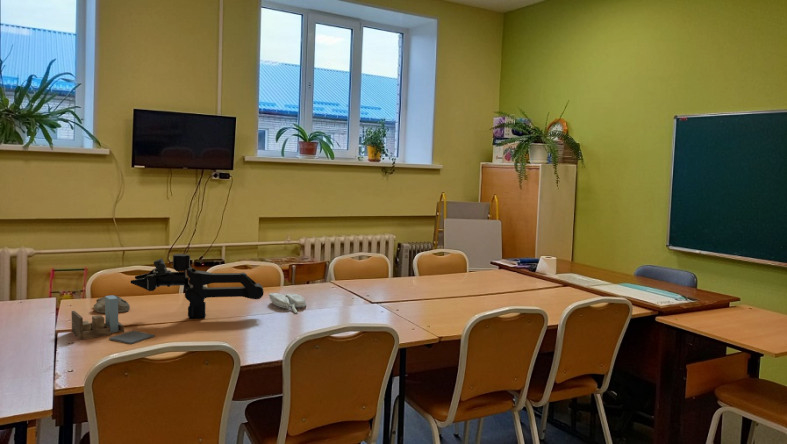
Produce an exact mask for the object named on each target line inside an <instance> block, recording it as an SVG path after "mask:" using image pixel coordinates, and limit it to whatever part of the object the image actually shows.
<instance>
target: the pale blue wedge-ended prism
mask: <svg viewBox="0 0 787 444" xmlns="http://www.w3.org/2000/svg"><path fill="white" fill-rule="evenodd" d="M115 296H116V295H113V294H112V295H105V296H104V297H105V313H104V323H105V324H106V325H108V326H109V327H110V332H111V333H117V332H119V330H118V322H119V312H118V298H117V297H115Z"/></svg>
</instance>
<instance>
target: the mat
mask: <svg viewBox="0 0 787 444" xmlns="http://www.w3.org/2000/svg"><path fill="white" fill-rule="evenodd" d="M154 337H156V334H153V333H148V332H143V331H138V330H130V331H128V332H123V333H121V334H118V335H114V336H110V337H109V338H108V339H109V341H114V342H120V343H124V344H130V345H133V344H136V343H140V342H143V341H145V339H146V340H148V338H149V339H151V338H154ZM142 340H143V341H142Z"/></svg>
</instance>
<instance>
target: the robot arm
mask: <svg viewBox="0 0 787 444" xmlns="http://www.w3.org/2000/svg"><path fill="white" fill-rule="evenodd" d="M190 260H191V254H185V253H174V254H172V268H173V269H174V270H175V271H172V270H169V269H167V265H166V263H165V261H164V259H163V258H159V259H156V260H154V261H153V266H155V267H154V268H153V269H151V270H150V271H149V272H147V273H142V274H139V275H135V276H134V279H131V280H130V284H132V285H134V286H137V287H139V288H142V289H144V290H146V291H148V292H154V291H156V289H157V288H159V287H167V288H169V287H171V286H174V287H175V286H184V298H185V299H186V300H187V301H188V302H189V304H188V306H187V317H188V319H189V320H198V319H200V320H201V319H203V320H205V319H206V317H207V313H206V310H207V309H206V306H207V305H206V303H207V302H206V301H205V300H206V299H207V298H232V297H233V298H235V297H236V298H239V297H240V298H241V297H242V298H245V299H250V300H260V299H261V298H262V297H263V296H264V293H265V292H264V287H263V285H262V284H261V283H259V282H258V283H257V282H256V281H255V280H253V279H252V278H251V277H250V276H249V275H248V274H247V273H245V272H228V273H227V272H221V273H220V272H218V273H217V272H215V273H214V272H208V271H203V270H197V269H195V268H194V267H192V266H191V261H190ZM228 283H229V284H238V283H240V284H241V285H242V286H222V287H219V286H218V287H217V286H216V287H208V286H205V285H209V284H228Z"/></svg>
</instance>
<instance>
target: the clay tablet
mask: <svg viewBox="0 0 787 444" xmlns="http://www.w3.org/2000/svg"><path fill="white" fill-rule="evenodd" d="M114 296H115V297H117V298H118V313H128V312H129V311H130V310H131V306H130V304H129V302H128V301H127V300H125V299H123V298H122V297H120V296H118V295H114ZM95 301H96V302H95V304H93V308H94V310H95V312H97V313H99V314H101V313H102V314H105V296H103V297H100V298H98V299H96V300H95Z"/></svg>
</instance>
